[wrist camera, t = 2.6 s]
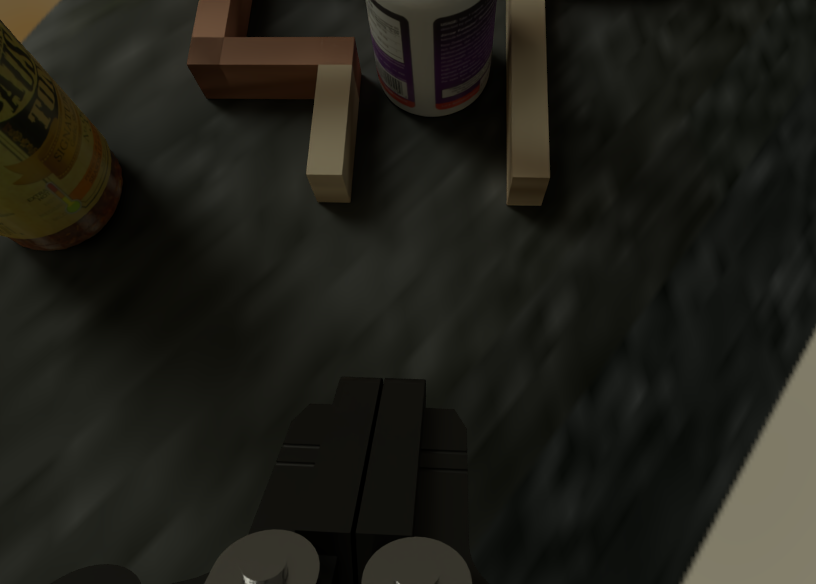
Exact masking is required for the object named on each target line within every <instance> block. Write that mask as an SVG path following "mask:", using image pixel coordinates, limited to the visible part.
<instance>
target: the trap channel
mask: <svg viewBox="0 0 816 584" xmlns="http://www.w3.org/2000/svg"><path fill="white" fill-rule="evenodd" d="M251 5H252V0H199V3H198V8H197V14H196V19H195V24H194V29H193V34H192V40H191V45H190V50H189V55H188V60H187V66H188V68H189V69H190V71H191V73H192V74H193V76H194V78H195V80H196V81H197V83H198V85H199V87H200V88H201V90H202V92H203V93H204V95H205V97H206V99H315V100H314V109H313V118H312V127H311V135H310V144H309V153H308V162H307V171H306V175H307V178H308V180H309V182H310V185H311V187H312V190H313V192H314V195H315V197H316V199H317V202H341V203H350V202H351V191H352V179H353V167H354V155H355V143H356V132H357V120H358V108H359V96H360V84H361V69H360V63H359V58H358V53H357V48H356V42H355V37H247V31H248V24H249V18H250V12H251ZM506 114H507V205H521V206H541V205H542V201H543V198H544V195H545V192H546V189H547V186H548V182H549V179H550V161H549V127H548V93H547V59H546V25H545V0H506Z"/></svg>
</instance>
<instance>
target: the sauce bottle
mask: <svg viewBox="0 0 816 584" xmlns="http://www.w3.org/2000/svg"><path fill="white" fill-rule="evenodd" d="M122 185H123V178H122V168H121V166H120V165H119V163H118V160H117V159H116V157H115V156H114V154H113V152H112V151H111V150H110V149H109V147H108V144H107V142H106V139H105V138H104V137H103V135H102V134H101V133H100V132H99V131H98V129H97V128H96V127H95V126H94V125H93V124H92V123H91V122H90V120H89V119H88V118H87V117H86V116H85V115H84V114H83V113H82V111H81V110H80V109H79V108H78V107H77V106H76V105H75V103H74V102H73V101H72V100H71V99H70V98H69V97H68V96H67V94H66V93H65V92H64V91H63V90H62V89H61V88H60V87H59V85H58V84H57V83H56V82H55V81H54V80H53V79H52V78H51V77H50V75H49V74H48V73H47V72H46V71H45V70H44V69H43V68H42V66H41V65H40V64H39V63H38V62H37V60H36V59H35V58H34V57H33V56H32V55H31V54H30V53H29V52H28V51H27V50H26V49H25V47H24V46H23V45H22V44H21V43H20V42H19V41H18V40H17V39H16V38H15V36H14V35H13V34H12V33H11V31H10V30H9V29H8V28H7V27H6V26H5V25H4V24H3V22H2V21H1V20H0V235H2V236H6V237H8V238H10V239H12V240H13V241H15V242H17V243H18V244H19V245H21V246H23V247H27V248H29V249H33V250H43V251H54V250H61V249H67V248H69V247H71V246H74V245H78V244H80V243H82V242H83V241H85V240H87V239H89V238H91V237H92V236H94V235H96V234H97V233H98V232H99V231H100V230H101V229H102V228H103V226H105V225H106V224H107V222H108V221H109V220H110V218H111V217H112V216H113V214H114V212H115V210H116V208H117V205H118V202H119V200H120V196H121V193H122Z"/></svg>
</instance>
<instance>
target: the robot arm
mask: <svg viewBox="0 0 816 584" xmlns="http://www.w3.org/2000/svg"><path fill="white" fill-rule="evenodd" d="M51 584H141V582H140V580H139V579H138V577H137V576H136V575H135V574H134V573H133V572H132V571H130V570H128V569H127V568H125V567H121V566H118V565H110V564H103V565H94V566H88V567H85V568H82V569H78V570H76V571H73V572H71V573H69V574H67V575H65V576H63V577H61V578H59V579H57V580H56V581H54V582H52V583H51ZM172 584H489V583H488V582H487V581H486V580H485V579H484V578H483V577H482V576H481V574H480V573H479V572H478V570H477V569H476V567H475V565H474V563H473V561H472V558H471V555H470V550H469V525H468V474H467V428H466V427H465V425H464V424H463V422H462V421H461V419H460V418H459V416H458V414H457V413H456V411H455V410H454V409H435V408H426V380H424V379H396V378H385V380H384V384H383V379H382V378H364V377H341V379H340V381H339V384H338V388H337V391H336V394H335V398H334V401H333V404H332V405H328V404H309V405H308V406H307V407H306V408H305V409H304V410H303V411H302V412H301V413H300V414H299V415H298V416H297V417H296V418H295V419H294V420H293V421H292V422H291V424H290V427H289V429H288V432H287V435H286V437H285V440H284V443H283V447H282V448H281V450H280V453H279V456H278V458H277V463H276V466H274V469H273V471H272V474H271V477H270V479H269V482H268V484H267V487H266V490H265V492H264V495H263V497H262V500H261V503H260V505H259V508H258V511H257V513H256V516H255V518H254V521H253V524H252V526H251V529H250V531H249V534H248V535H247V536H245V537H243V538H241V539H239V540H238V541H236V542H235V543H233V544H232V545H230V546H229V547H228V548H227V549H226V550H225V551H224V552H223V553H222V554H221V555H220V556H219V558H218V559H217V561H216V562H215V564H214V566H213V568H212V570H211V572H209V573H207V574H204V575H202V576H199V577H196V578H193V579H189V580H186V581H181V582H177V583H172Z"/></svg>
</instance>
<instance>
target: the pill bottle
mask: <svg viewBox="0 0 816 584" xmlns="http://www.w3.org/2000/svg"><path fill="white" fill-rule="evenodd" d="M496 1H497V0H366V6H367V12H368V18H369V24H370V31H371V37H372V43H373V49H374V54H375V61H376V67H377V72H378V76H379V80H380V84H381V86H382V88H383V90H384V92H385V94H386V95H387V97H388V98H389V99H390V100H391V101H392V102H393V103H394V104H395V105H397V106H398V107H399V108H401V109H403V110H405V111H407V112H409V113H412V114H415V115H420V116H426V117H438V116H445V115H449V114H452V113H455V112H458V111H460V110H462V109H464V108H465V107H467V106H469V105H470V104H471V103H473V102H474V101H475V100H476V99H477V98H478V97H479V95H480V94H481V93H482V91H483V89H484V88H485V86H486V83H487V81H488V77H489V72H490V66H491V57H492V45H493V33H494V22H495V12H496Z"/></svg>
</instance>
